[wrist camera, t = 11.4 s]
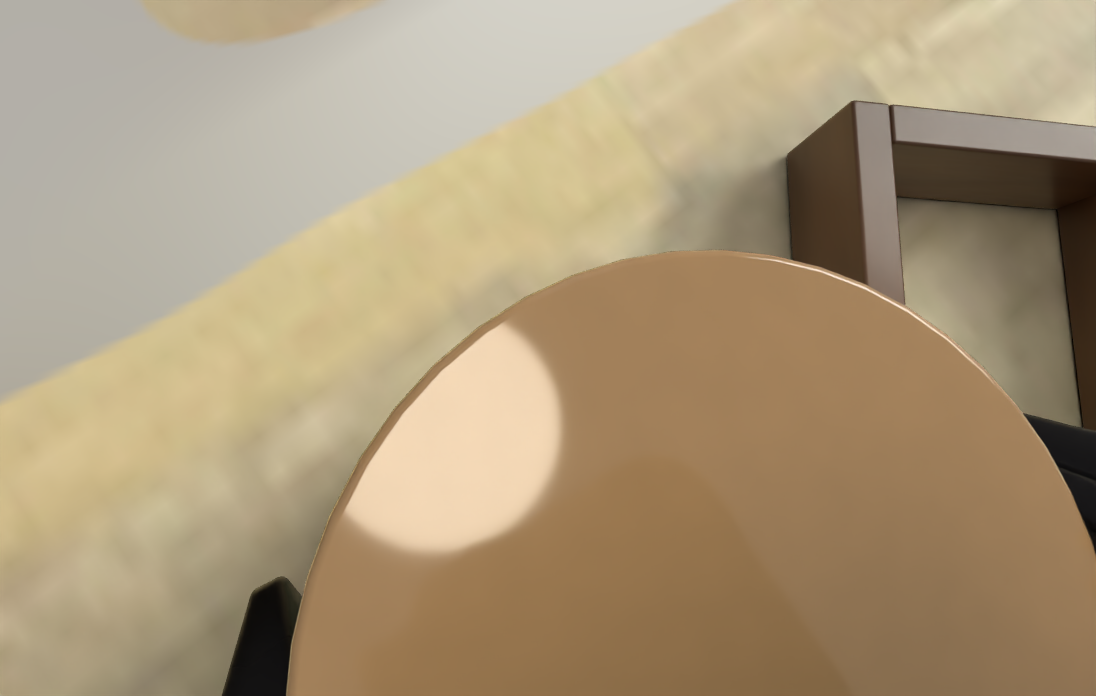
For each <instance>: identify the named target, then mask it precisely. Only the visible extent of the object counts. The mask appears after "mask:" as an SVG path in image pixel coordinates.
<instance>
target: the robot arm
mask: <svg viewBox="0 0 1096 696" xmlns="http://www.w3.org/2000/svg"><path fill="white" fill-rule="evenodd" d="M1023 414H1024V416H1025V417H1026V419H1027V420H1028V422H1029V423H1030V424H1031V426H1032V427H1033V429H1034V430H1035V432H1036V433H1037V434H1038V436H1039V437H1040V439H1041V440H1042V442H1043V443H1044V444H1045V446H1046V447H1047V449H1048V451H1049V453H1050V454H1051V456H1052V458H1053V460H1054V462H1055V464H1056V465H1057V467H1058V469H1059V471H1060V473H1061V474H1062V476H1063V478H1064V480H1065V482H1066V483H1067V485H1068V487H1069V489H1070V491H1071V493H1072V495H1073V497H1074V500H1075V502H1076V504H1077V507H1078V509H1079V512H1080V514H1081V516H1082V519H1083V521H1084V523H1085V526H1086V528H1087V531H1088V533H1089V535H1090V538H1091V540H1092V543H1093V546H1094V550H1095V553H1096V431H1095V430H1090V429H1086V428H1081V427H1076V426H1072V425H1068V424H1064V423H1060V422H1056V421H1052V420H1048V419H1044V418H1041V417H1037V416H1033V415H1029V414H1025V413H1023ZM301 599H302V596H301V595H300V593H299V592H298V591H297V590H296V588H295V587H294V586H293V585H292V583H291V582H290V581H289V580H288V579H287V578H285V577H283V576H281V577H277V578H275V579H274V580H272V581H270V582H268V583H266V584H264V585H262V586H260V587H258V588H256V589H255V590H254V591H253V592H252V594H251V596H250V599H249V603H248V606H247V610H246V613H245V617H244V620H243V623H242V627H241V630H240V634H239V637H238V641H237V644H236V648H235V651H234V655H233V658H232V662H231V665H230V669H229V672H228V675H227V679H226V682H225V686H224V689H223V693H222V696H286V690H287V680H288V670H289V660H290V650H291V642H292V638H293V634H294V629H295V625H296V621H297V616H298V612H299V608H300V603H301Z"/></svg>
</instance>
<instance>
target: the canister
mask: <svg viewBox="0 0 1096 696" xmlns="http://www.w3.org/2000/svg"><path fill="white" fill-rule="evenodd" d="M286 696H1096V553H1095V550H1094V546H1093V543H1092V540H1091V538H1090V535H1089V533H1088V531H1087V528H1086V526H1085V523H1084V521H1083V519H1082V516H1081V514H1080V512H1079V509H1078V507H1077V504H1076V502H1075V500H1074V497H1073V495H1072V493H1071V491H1070V489H1069V487H1068V485H1067V483H1066V482H1065V480H1064V478H1063V476H1062V474H1061V473H1060V471H1059V469H1058V467H1057V465H1056V464H1055V462H1054V460H1053V458H1052V456H1051V454H1050V453H1049V451H1048V449H1047V447H1046V446H1045V444H1044V443H1043V442H1042V440H1041V439H1040V437H1039V436H1038V434H1037V433H1036V432H1035V430H1034V429H1033V427H1032V426H1031V424H1030V423H1029V422H1028V420H1027V419H1026V417H1025V416H1024V414H1023V413H1022V412H1021V410H1020V409H1019V407H1018V406H1017V405H1016V404H1015V402H1014V401H1013V400H1012V399H1011V398H1010V397H1009V396H1008V395H1007V393H1006V392H1005V391H1004V390H1003V389H1002V388H1001V387H1000V385H999V384H998V383H997V382H996V381H995V380H994V379H993V378H992V376H991V375H990V374H989V373H988V372H987V371H986V370H985V368H983V367H982V366H981V365H980V364H979V363H978V362H977V361H976V360H975V359H973V358H972V357H971V356H970V355H969V354H968V353H967V352H966V351H965V350H963V349H962V348H961V347H960V346H959V345H958V344H957V343H956V342H955V341H954V340H952V339H951V338H950V337H949V336H948V335H947V334H945V333H944V332H942V331H941V330H940V329H938V328H937V327H935V326H934V325H932V324H931V323H930V322H928V321H927V320H925V319H924V318H923V317H921V316H920V315H918V314H917V313H915V312H914V311H913V310H911V309H910V308H908V307H907V306H905V305H903V304H901V303H899V302H897V301H895V300H894V299H892V298H890V297H888V296H886V295H884V294H882V293H881V292H879V291H877V290H875V289H873V288H871V287H869V286H868V285H866V284H863V283H861V282H858V281H855V280H853V279H850V278H848V277H845V276H842V275H840V274H837V273H835V272H832V271H829V270H827V269H824V268H822V267H818V266H814V265H810V264H806V263H802V262H798V261H793V260H789V259H785V258H781V257H777V256H773V255H767V254H757V253H748V252H738V251H729V250H695V251H670V252H664V253H658V254H652V255H646V256H640V257H634V258H628V259H622V260H619V261H616V262H612V263H609V264H606V265H603V266H599V267H596V268H593V269H590V270H587V271H583V272H580V273H577V274H574V275H571V276H569V277H567V278H565V279H563V280H560V281H558V282H556V283H554V284H552V285H550V286H548V287H545V288H543V289H541V290H539V291H537V292H535V293H533V294H530V295H528V296H526V297H524V298H523V299H521V300H519V301H518V302H516V303H515V304H513V305H512V306H510V307H509V308H507V309H505V310H504V311H502V312H501V313H499V314H498V315H496V316H495V317H493V318H491V319H490V320H488V321H487V322H485V323H484V324H482V325H481V326H479V327H478V328H476V329H475V330H474V331H473V332H472V333H470V334H469V335H468V336H467V337H466V338H465V339H463V340H462V341H461V342H460V343H459V344H457V345H456V346H455V347H454V348H453V349H452V350H450V351H449V352H448V353H447V354H446V355H445V356H443V357H442V358H441V359H440V360H439V361H437V362H436V363H435V364H434V365H433V366H432V367H431V368H430V369H429V371H428V372H427V373H426V374H425V375H424V376H423V377H422V378H421V379H420V380H419V382H418V383H417V384H416V385H415V386H414V387H413V388H412V389H411V390H410V391H409V393H408V394H407V395H406V396H405V397H404V398H403V399H402V400H401V401H400V403H399V404H398V405H397V406H396V407H395V408H394V409H393V411H392V412H391V414H390V415H389V417H388V418H387V419H386V421H385V422H384V424H383V425H382V427H381V428H380V429H379V431H378V432H377V434H376V435H375V437H374V438H373V440H372V441H371V442H370V444H369V445H368V447H367V448H366V450H365V451H364V452H363V454H362V455H361V457H360V458H359V460H358V462H357V464H356V466H355V467H354V469H353V471H352V473H351V475H350V477H349V479H348V481H347V483H346V485H345V487H344V489H343V491H342V492H341V494H340V496H339V498H338V500H337V502H336V504H335V506H334V508H333V510H332V512H331V514H330V516H329V518H328V521H327V523H326V526H325V529H324V532H323V534H322V537H321V540H320V542H319V545H318V548H317V551H316V553H315V556H314V559H313V561H312V564H311V567H310V570H309V572H308V575H307V578H306V582H305V586H304V590H303V595H302V599H301V603H300V608H299V612H298V616H297V621H296V625H295V629H294V634H293V638H292V642H291V650H290V660H289V670H288V680H287V690H286Z"/></svg>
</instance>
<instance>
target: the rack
mask: <svg viewBox="0 0 1096 696" xmlns="http://www.w3.org/2000/svg"><path fill="white" fill-rule="evenodd" d="M787 165H788V183H789V201H790V219H791V237H792V255H793V261H798V262H802V263H806V264H810V265H814V266H818V267H822V268H824V269H827V270H829V271H832V272H835V273H837V274H840V275H842V276H845V277H848V278H850V279H853V280H855V281H858V282H861V283H863V284H866V285H868V286H869V287H871V288H873V289H875V290H877V291H879V292H881V293H882V294H884V295H886V296H888V297H890V298H892V299H894V300H895V301H897V302H899V303H901V304H903V305H905V295H904V283H903V270H902V258H901V246H900V234H899V221H898V209H897V197H896V196H900V197H912V198H924V199H936V200H948V201H960V202H973V203H985V204H997V205H1009V206H1021V207H1033V208H1046V209H1057V211H1058V219H1059V227H1060V236H1061V244H1062V252H1063V260H1064V269H1065V277H1066V285H1067V294H1068V302H1069V310H1070V319H1071V327H1072V335H1073V343H1074V352H1075V360H1076V368H1077V377H1078V385H1079V393H1080V402H1081V410H1082V418H1083V426H1084V428H1086V429H1090V430H1095V431H1096V127H1094V126H1085V125H1076V124H1067V123H1058V122H1048V121H1039V120H1030V119H1021V118H1012V117H1003V116H993V115H984V114H975V113H966V112H957V111H948V110H938V109H929V108H920V107H911V106H902V105H890V106H889V105H888V104H883V103H874V102H864V101H851V102H850V103H849V104H847V105H846V106H845V107H844V108H842V109H841V110H840V111H839V112H838V113H836V114H835V115H834V116H833V117H832V118H830V119H829V120H828V121H827V122H826V123H824V124H823V125H822V126H821V127H820V128H818V129H817V130H816V131H815V132H813V133H812V134H811V135H810V136H809V137H807V138H806V139H805V140H804V141H803V142H801V143H800V144H799V145H798V146H797V147H795V148H794V149H793V150H792V151H790V152H789V153H788V155H787Z"/></svg>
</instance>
